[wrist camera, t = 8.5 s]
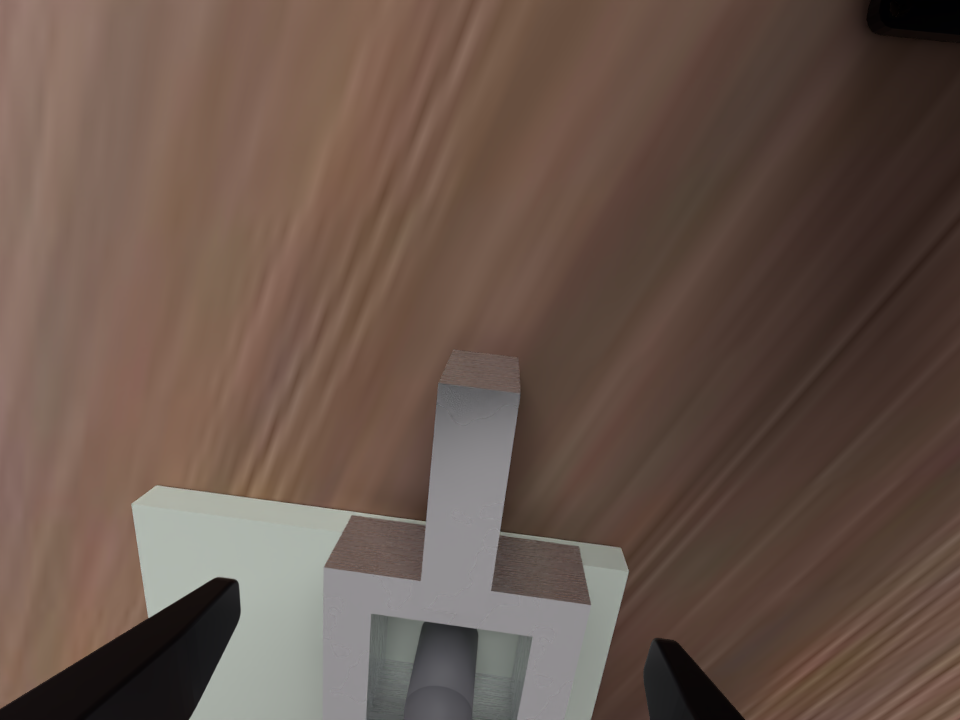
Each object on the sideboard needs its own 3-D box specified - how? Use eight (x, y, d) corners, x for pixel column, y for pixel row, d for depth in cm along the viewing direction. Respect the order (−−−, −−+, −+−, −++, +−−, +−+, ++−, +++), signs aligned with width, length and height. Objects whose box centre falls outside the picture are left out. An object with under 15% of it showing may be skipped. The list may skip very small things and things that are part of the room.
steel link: (357, 336, 14) (316, 367, 11) (616, 369, 14) (645, 409, 11) (347, 681, 18) (316, 767, 15) (543, 710, 18) (549, 803, 15)
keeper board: (620, 547, 17) (665, 680, 12) (571, 748, 20) (590, 916, 15) (156, 485, 17) (18, 588, 12) (182, 691, 21) (81, 835, 16)
